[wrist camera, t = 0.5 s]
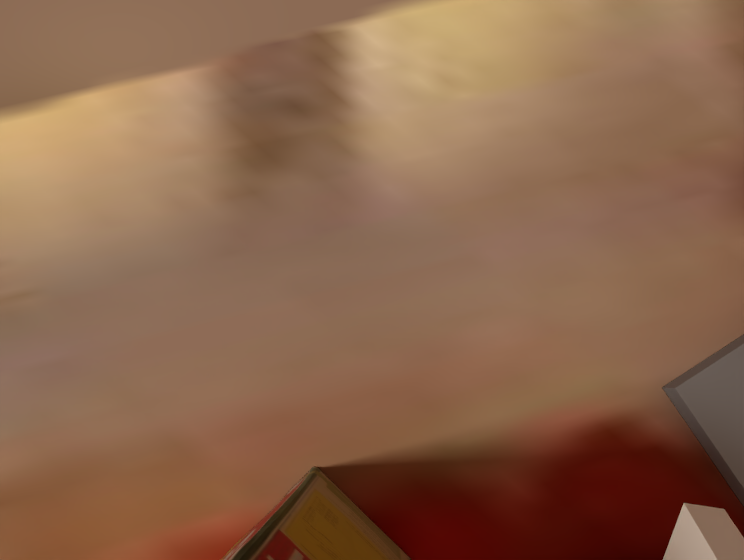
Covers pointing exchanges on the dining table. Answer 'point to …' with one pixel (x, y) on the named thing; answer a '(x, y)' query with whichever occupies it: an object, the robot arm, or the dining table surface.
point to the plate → (716, 409)
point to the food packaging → (315, 528)
